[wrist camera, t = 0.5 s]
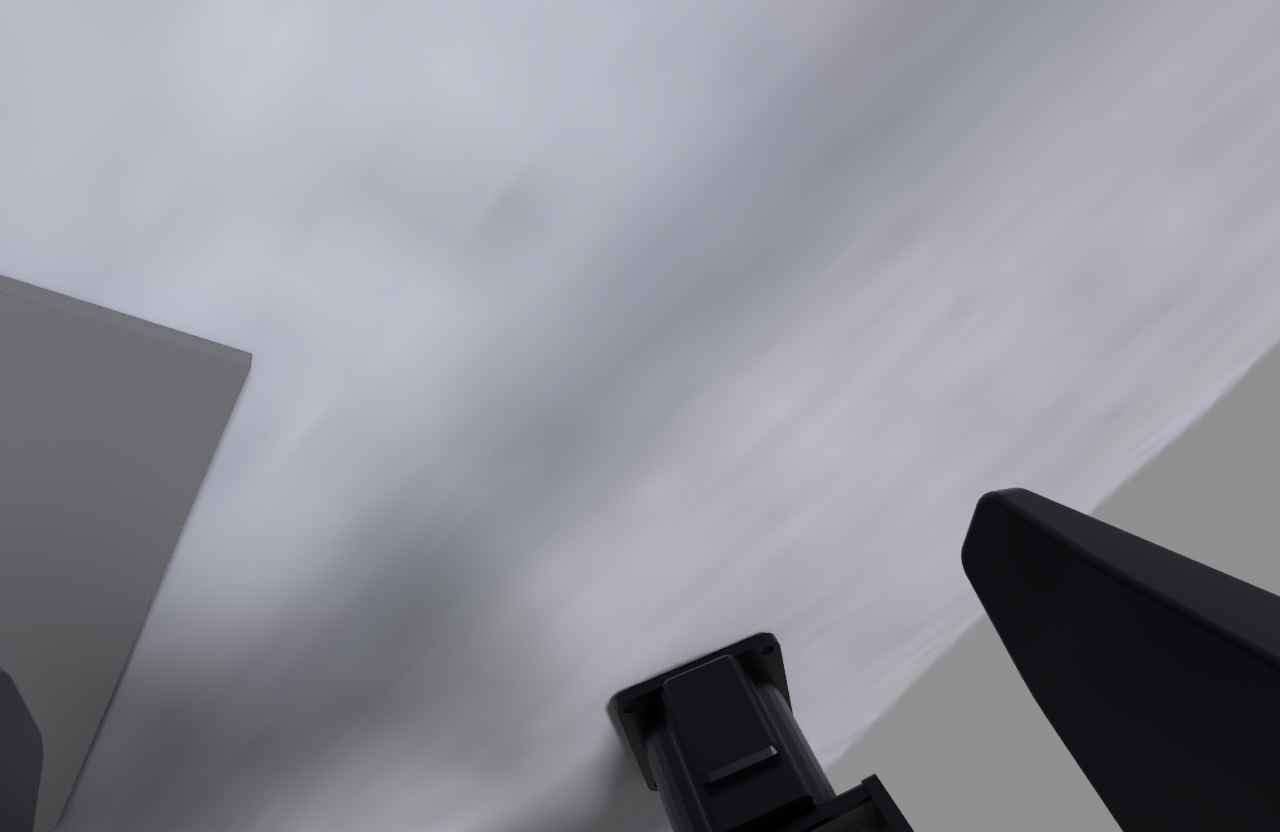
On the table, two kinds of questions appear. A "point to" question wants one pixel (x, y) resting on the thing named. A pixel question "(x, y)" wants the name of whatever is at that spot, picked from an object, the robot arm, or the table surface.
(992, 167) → the table surface
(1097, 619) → the robot arm
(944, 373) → the table surface
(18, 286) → the mat
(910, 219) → the table surface
